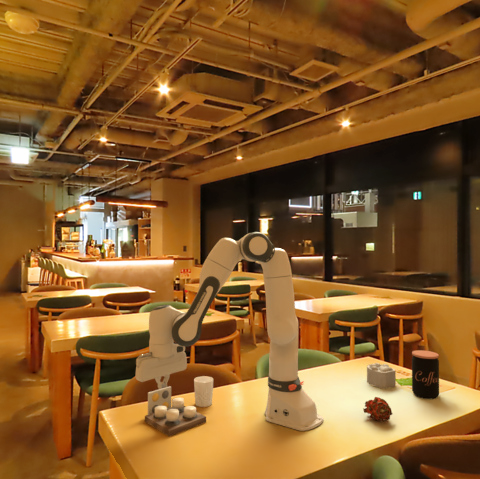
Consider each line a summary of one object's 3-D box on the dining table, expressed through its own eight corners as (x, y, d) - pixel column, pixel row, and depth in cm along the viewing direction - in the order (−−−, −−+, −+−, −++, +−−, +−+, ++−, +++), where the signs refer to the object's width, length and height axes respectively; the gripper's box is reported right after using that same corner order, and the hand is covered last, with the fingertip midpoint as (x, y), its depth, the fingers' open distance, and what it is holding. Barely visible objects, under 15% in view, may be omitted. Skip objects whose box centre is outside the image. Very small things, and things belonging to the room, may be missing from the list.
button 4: (169, 415, 145) (169, 408, 145) (158, 418, 142) (158, 411, 142) (162, 411, 148) (162, 404, 148) (152, 414, 145) (152, 407, 145)
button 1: (198, 415, 144) (198, 408, 145) (188, 418, 141) (188, 411, 142) (191, 411, 148) (191, 405, 148) (181, 415, 145) (181, 408, 145)
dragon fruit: (389, 431, 141) (366, 422, 152) (402, 413, 144) (379, 406, 155) (376, 413, 140) (354, 406, 151) (389, 395, 143) (367, 389, 154)
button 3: (186, 406, 150) (186, 399, 150) (176, 409, 147) (176, 402, 147) (179, 403, 153) (179, 396, 153) (169, 406, 150) (169, 399, 150)
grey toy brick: (383, 389, 178) (382, 370, 179) (361, 381, 190) (361, 362, 190) (398, 385, 183) (398, 366, 184) (376, 377, 195) (376, 360, 195)
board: (206, 422, 144) (206, 416, 144) (169, 436, 133) (169, 429, 133) (180, 409, 156) (180, 403, 156) (144, 421, 145) (144, 415, 145)
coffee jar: (412, 397, 169) (412, 355, 169) (411, 389, 178) (411, 349, 179) (440, 401, 165) (440, 357, 165) (438, 392, 174) (437, 351, 175)
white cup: (210, 408, 157) (210, 383, 157) (191, 406, 158) (191, 381, 159) (215, 401, 164) (215, 376, 165) (197, 399, 166) (197, 375, 166)
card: (171, 409, 155) (171, 386, 155) (149, 417, 148) (149, 393, 148) (170, 409, 156) (170, 386, 156) (147, 416, 149) (147, 392, 149)
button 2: (181, 418, 139) (181, 411, 139) (170, 422, 136) (170, 415, 136) (174, 414, 142) (174, 407, 142) (163, 418, 139) (163, 411, 139)
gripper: (140, 357, 136) (141, 397, 135) (188, 345, 150) (189, 382, 150) (131, 354, 140) (132, 393, 140) (179, 343, 154) (179, 379, 154)
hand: (162, 387), depth 145 cm, fingers closed
